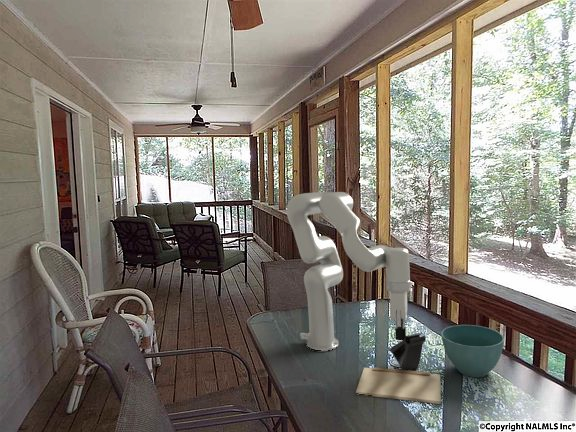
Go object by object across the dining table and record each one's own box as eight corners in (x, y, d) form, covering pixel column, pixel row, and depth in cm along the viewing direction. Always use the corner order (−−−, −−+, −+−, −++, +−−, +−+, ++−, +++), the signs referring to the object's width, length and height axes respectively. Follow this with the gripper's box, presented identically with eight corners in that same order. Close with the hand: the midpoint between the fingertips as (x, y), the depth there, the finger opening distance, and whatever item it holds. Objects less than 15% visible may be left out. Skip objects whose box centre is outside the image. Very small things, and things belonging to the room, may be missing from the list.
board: (356, 394, 123) (355, 390, 123) (364, 369, 138) (364, 366, 138) (441, 404, 115) (440, 400, 114) (439, 377, 130) (439, 373, 129)
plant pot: (478, 391, 120) (477, 351, 119) (430, 368, 136) (429, 332, 135) (517, 374, 128) (516, 337, 127) (467, 354, 144) (466, 320, 143)
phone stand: (418, 368, 136) (432, 345, 130) (403, 371, 134) (417, 349, 127) (403, 346, 143) (416, 323, 136) (389, 349, 140) (401, 326, 134)
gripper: (388, 279, 142) (391, 330, 144) (384, 291, 128) (387, 347, 130) (411, 280, 140) (413, 331, 141) (409, 292, 126) (411, 349, 127)
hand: (400, 339), depth 136 cm, fingers closed
